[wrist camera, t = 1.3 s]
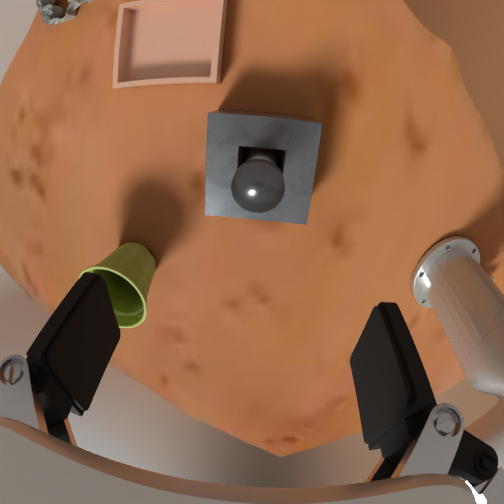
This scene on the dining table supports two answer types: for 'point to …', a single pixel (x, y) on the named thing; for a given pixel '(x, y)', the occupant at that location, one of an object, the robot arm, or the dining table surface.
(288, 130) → the socket block
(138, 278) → the plant pot
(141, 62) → the tray
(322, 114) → the dining table surface
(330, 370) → the dining table surface
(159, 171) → the dining table surface
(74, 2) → the egg carton
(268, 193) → the pin
